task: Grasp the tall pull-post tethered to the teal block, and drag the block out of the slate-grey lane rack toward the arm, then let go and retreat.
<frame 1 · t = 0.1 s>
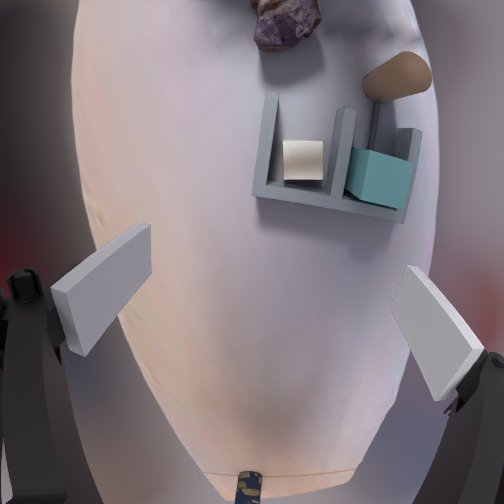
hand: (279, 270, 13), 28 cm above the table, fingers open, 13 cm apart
canister: (250, 473, 82), on the table
lane rack: (336, 151, 36), on the table
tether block: (365, 171, 36), on the table
cream cube: (300, 157, 37), resting in lane rack
rock: (283, 24, 29), on the table
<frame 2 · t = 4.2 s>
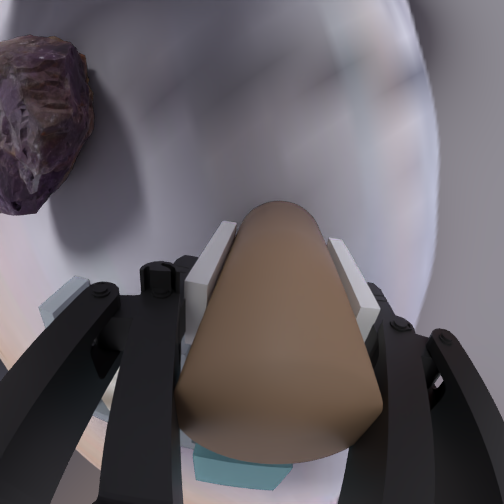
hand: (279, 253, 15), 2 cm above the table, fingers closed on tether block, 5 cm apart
lane rack: (194, 361, 21), on the table
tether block: (250, 386, 22), on the table, touching gripper
rock: (74, 110, 14), on the table
when the fingers open (3 cm above the table, at t = 10.2 s): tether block stays where it is, on the table.
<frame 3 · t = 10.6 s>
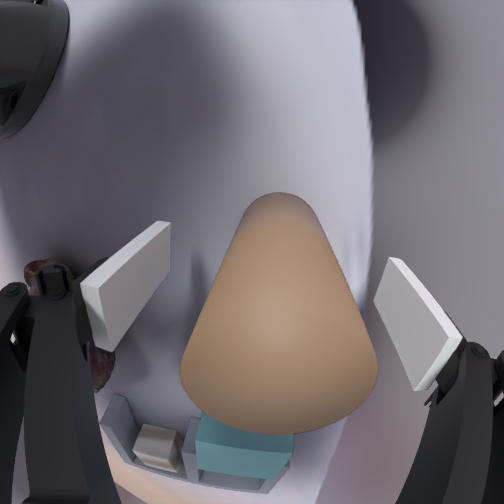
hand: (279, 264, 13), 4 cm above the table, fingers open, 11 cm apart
lane rack: (198, 438, 29), on the table
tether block: (251, 375, 22), on the table
cream cube: (164, 434, 30), resting in lane rack
rock: (91, 309, 22), on the table
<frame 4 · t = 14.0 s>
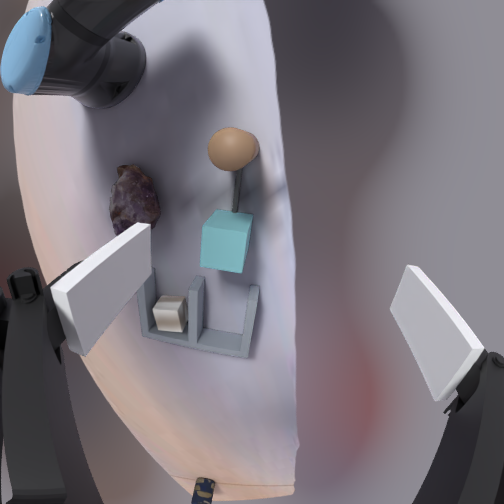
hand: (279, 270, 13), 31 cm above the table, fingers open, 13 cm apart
canister: (206, 479, 97), on the table
lane rack: (199, 303, 51), on the table
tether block: (232, 229, 45), on the table
cream cube: (175, 306, 52), resting in lane rack
rock: (146, 197, 44), on the table
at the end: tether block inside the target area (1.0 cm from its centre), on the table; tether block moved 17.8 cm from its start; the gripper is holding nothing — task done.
